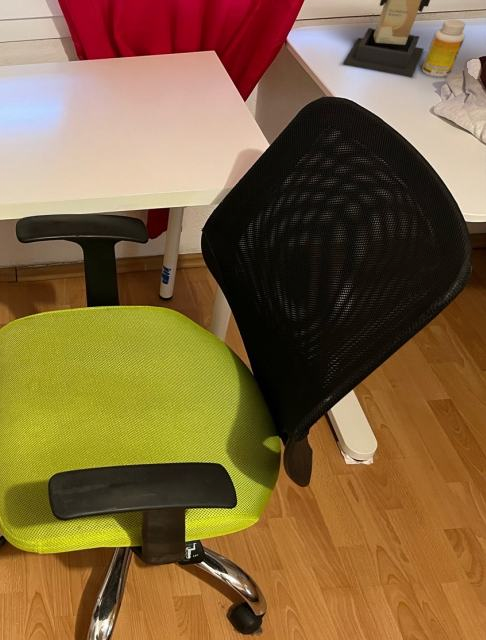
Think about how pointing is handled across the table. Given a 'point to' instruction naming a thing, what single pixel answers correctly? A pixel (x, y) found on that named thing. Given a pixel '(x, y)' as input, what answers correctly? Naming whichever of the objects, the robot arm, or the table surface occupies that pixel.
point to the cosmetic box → (396, 21)
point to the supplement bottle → (444, 48)
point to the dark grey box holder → (385, 55)
